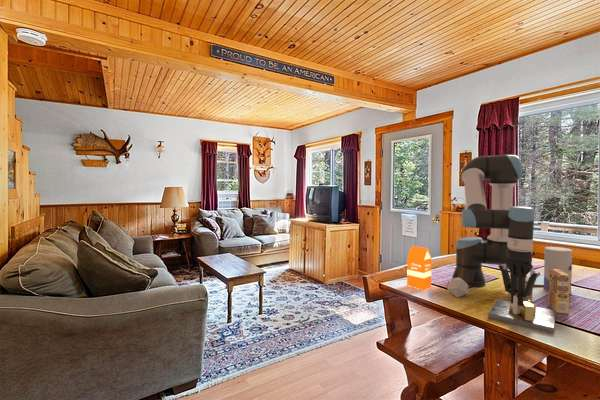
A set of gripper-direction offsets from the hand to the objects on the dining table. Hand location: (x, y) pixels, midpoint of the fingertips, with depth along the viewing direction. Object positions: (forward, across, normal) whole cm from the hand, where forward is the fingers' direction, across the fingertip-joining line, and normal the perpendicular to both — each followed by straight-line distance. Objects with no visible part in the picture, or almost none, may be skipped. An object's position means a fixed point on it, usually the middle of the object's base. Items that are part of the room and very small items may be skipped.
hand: (516, 313), depth 113 cm
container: (+4, -9, +54) cm, 55 cm away
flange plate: (+3, -1, +7) cm, 8 cm away
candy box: (+4, +2, +27) cm, 27 cm away
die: (+4, -28, +7) cm, 29 cm away
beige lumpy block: (+1, 0, +5) cm, 5 cm away
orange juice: (+5, -45, +2) cm, 46 cm away
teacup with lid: (+4, -12, +29) cm, 32 cm away
